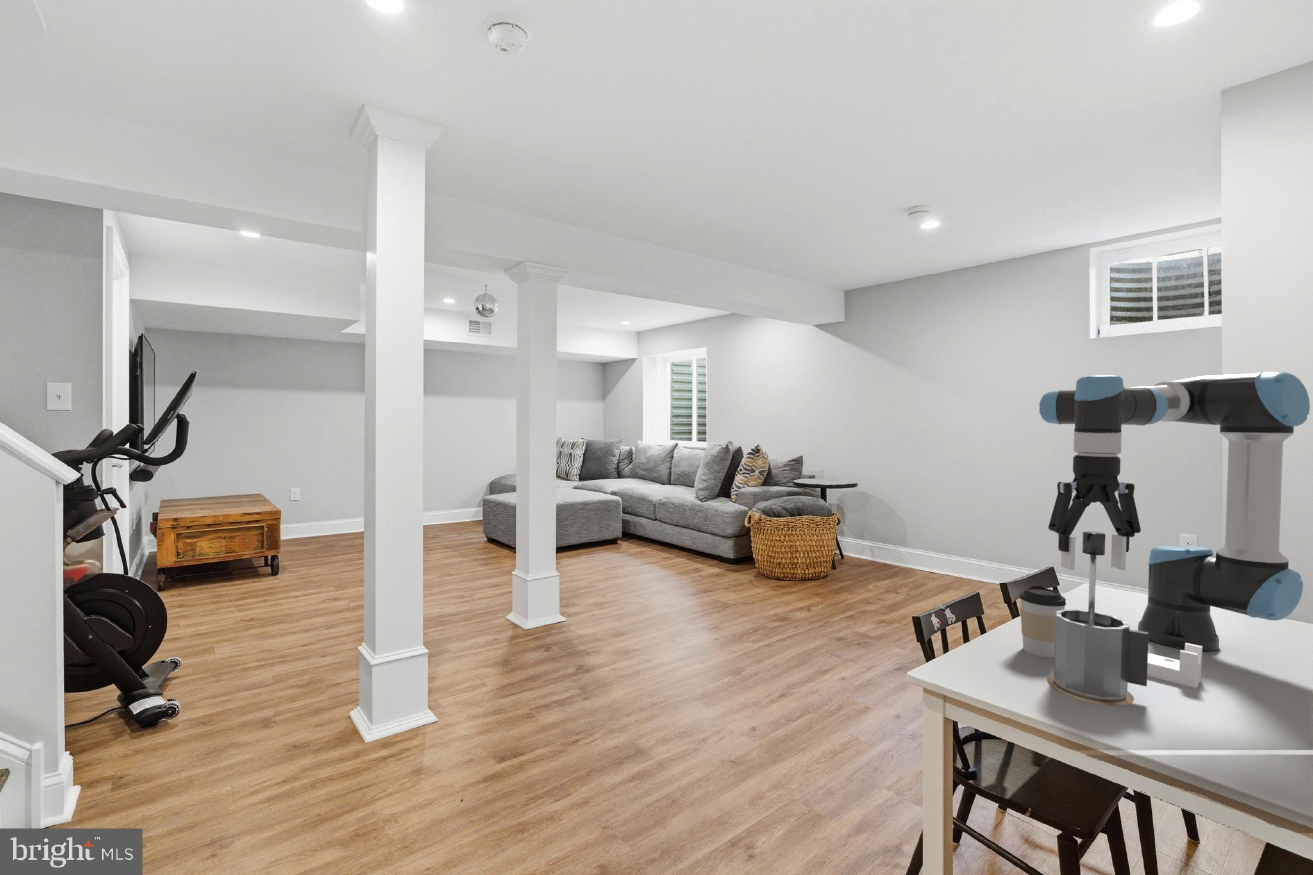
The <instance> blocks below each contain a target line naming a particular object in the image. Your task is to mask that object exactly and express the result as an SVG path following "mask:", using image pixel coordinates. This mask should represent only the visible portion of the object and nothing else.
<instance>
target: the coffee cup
mask: <svg viewBox="0 0 1313 875" xmlns="http://www.w3.org/2000/svg"><path fill="white" fill-rule="evenodd" d="M1019 599H1020V624H1021V625H1020V626H1021V628H1020V629H1021V635H1022V649H1023V651H1024V652H1026V653H1028V654H1030V655H1034V656H1037V657H1041V658H1042V657H1043V658H1054V642H1055V612H1056V611H1059V610H1063V609H1066V605H1067V602H1066V600H1067V599H1066V598H1065V596H1063V595H1062V594H1061V592H1059V591H1057V590H1054V589H1051V588H1046V587H1044V586H1042V585H1031V586H1029V587H1026V588H1025V589H1024V591H1021V592H1020V593H1019Z"/></svg>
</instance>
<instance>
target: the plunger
mask: <svg viewBox="0 0 1313 875" xmlns="http://www.w3.org/2000/svg"><path fill="white" fill-rule="evenodd" d="M1081 551H1082V552H1081V553H1083V554H1085V555H1089V579H1088V582H1089V583H1088V584H1089V585H1088V610H1087V611H1088V623H1081V622H1077V623H1081V624H1085V625H1090V626H1097V627H1103V626H1100V625H1095V624H1094V615H1095V612H1096V611H1095V610H1096V579H1097V578H1096V577H1097V576H1096V575H1097V556H1105V554H1106V533H1103V532H1099V531H1082V547H1081Z"/></svg>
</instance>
